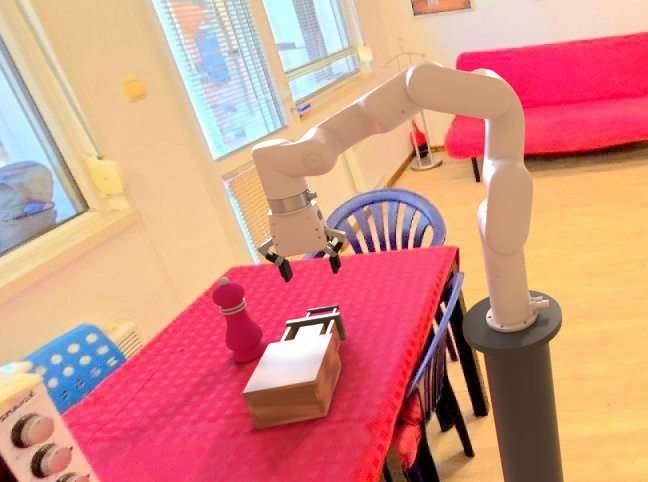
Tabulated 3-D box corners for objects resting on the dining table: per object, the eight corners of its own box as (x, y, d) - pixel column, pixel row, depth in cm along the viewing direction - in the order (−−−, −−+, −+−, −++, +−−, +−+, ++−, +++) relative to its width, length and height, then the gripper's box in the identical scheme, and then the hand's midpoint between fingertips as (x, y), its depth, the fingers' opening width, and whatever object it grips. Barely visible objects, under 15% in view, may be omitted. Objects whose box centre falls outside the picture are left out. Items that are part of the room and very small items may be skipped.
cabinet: (280, 377, 111) (269, 343, 108) (342, 366, 112) (332, 332, 109) (255, 429, 97) (242, 393, 94) (326, 416, 99) (315, 380, 96)
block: (329, 341, 118) (323, 323, 116) (323, 355, 113) (318, 336, 111) (305, 345, 117) (300, 327, 115) (299, 360, 112) (293, 341, 110)
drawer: (303, 327, 126) (296, 303, 123) (352, 319, 127) (346, 295, 125) (276, 386, 107) (266, 359, 104) (334, 375, 108) (326, 348, 106)
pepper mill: (225, 360, 117) (195, 284, 110) (252, 341, 124) (226, 267, 116) (247, 366, 115) (218, 288, 107) (275, 346, 121) (249, 271, 114)
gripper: (338, 188, 109) (358, 259, 116) (250, 201, 107) (276, 273, 113) (330, 201, 102) (352, 276, 109) (236, 215, 100) (264, 292, 106)
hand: (313, 275), depth 111 cm, fingers open, 9 cm apart
